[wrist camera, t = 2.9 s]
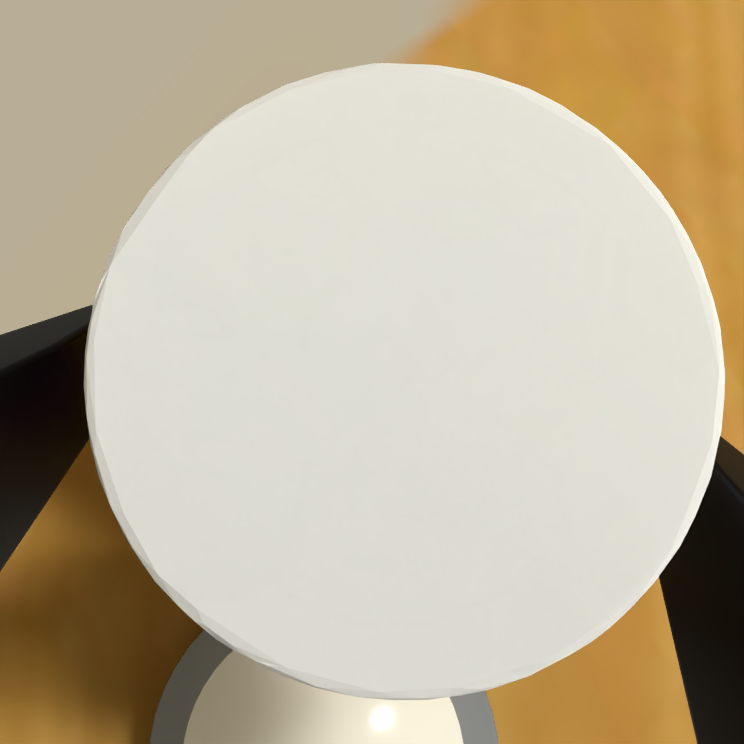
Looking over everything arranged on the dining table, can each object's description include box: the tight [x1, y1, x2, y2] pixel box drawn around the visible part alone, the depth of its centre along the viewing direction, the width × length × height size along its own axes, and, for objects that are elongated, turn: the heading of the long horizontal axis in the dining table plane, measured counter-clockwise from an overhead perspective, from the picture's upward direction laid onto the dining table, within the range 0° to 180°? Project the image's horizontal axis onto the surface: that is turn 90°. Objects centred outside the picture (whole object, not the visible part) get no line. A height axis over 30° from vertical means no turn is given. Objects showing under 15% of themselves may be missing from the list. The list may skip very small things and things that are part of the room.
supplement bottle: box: [84, 63, 725, 700], centre depth 10 cm, size 7×7×13 cm
